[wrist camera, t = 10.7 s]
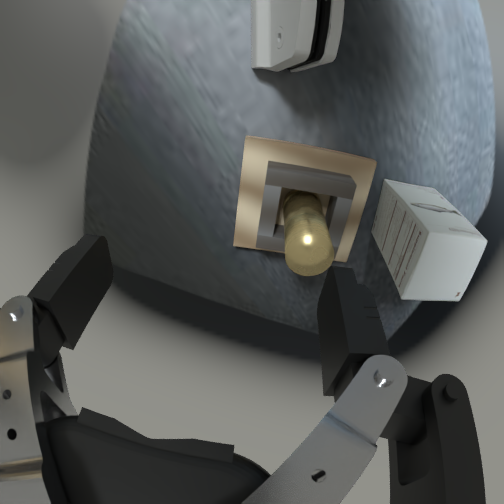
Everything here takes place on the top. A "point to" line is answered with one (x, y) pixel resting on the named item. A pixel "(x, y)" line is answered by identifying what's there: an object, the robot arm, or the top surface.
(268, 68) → the white black curved block
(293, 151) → the socket board
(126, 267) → the top surface
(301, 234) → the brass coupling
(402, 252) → the supplement box
